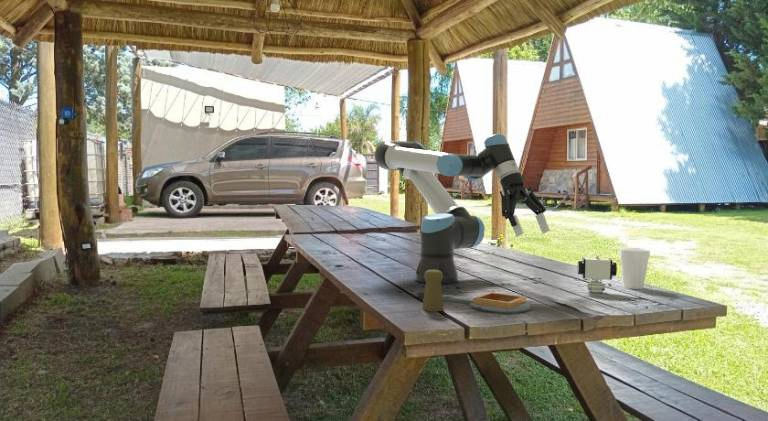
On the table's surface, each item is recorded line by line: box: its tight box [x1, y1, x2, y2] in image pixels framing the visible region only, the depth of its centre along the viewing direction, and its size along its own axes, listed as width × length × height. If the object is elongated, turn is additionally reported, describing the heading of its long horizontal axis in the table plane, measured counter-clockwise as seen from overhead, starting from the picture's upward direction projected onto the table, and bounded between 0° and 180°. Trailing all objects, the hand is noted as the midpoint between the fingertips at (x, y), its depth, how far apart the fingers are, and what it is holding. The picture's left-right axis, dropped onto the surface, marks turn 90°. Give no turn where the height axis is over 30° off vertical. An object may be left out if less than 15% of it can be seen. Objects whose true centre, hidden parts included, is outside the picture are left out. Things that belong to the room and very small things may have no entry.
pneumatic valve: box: [576, 255, 618, 294], centre depth 205 cm, size 6×12×12 cm, turn 78°
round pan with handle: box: [416, 289, 531, 315], centre depth 184 cm, size 34×17×3 cm, turn 56°
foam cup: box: [619, 247, 651, 290], centre depth 214 cm, size 10×9×13 cm
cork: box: [422, 270, 445, 312], centre depth 175 cm, size 6×6×11 cm
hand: (533, 233), depth 207 cm, fingers open, 13 cm apart
